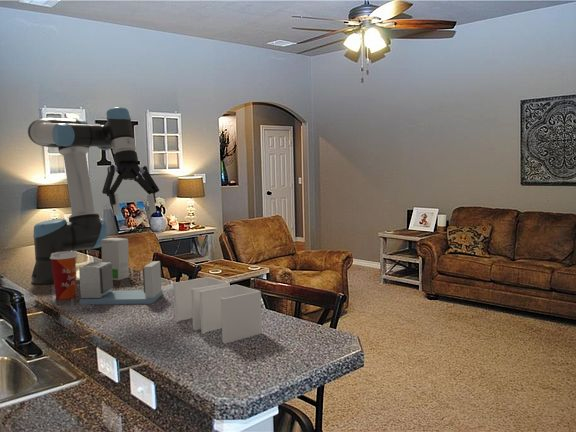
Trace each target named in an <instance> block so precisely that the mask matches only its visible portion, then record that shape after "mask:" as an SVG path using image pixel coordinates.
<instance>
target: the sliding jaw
mask: <svg viewBox="0 0 576 432" xmlns="http://www.w3.org/2000/svg"><path fill="white" fill-rule="evenodd" d="M78 270H79V287H80V299H82V298H101V297H103V296H105V295H106V294H108V293H109V292H111V291H113V288H114V280H113V276H112V264H111V262H102V261H93V262H89V263H87V264H85V265H82V266H80V267H79V268H78Z"/></svg>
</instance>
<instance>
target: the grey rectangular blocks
mask: <svg viewBox="0 0 576 432" xmlns="http://www.w3.org/2000/svg"><path fill="white" fill-rule="evenodd" d="M172 286H173V304H174V306H173V307H174V322H175V323H179V322H181V321H185V320H189V319H192V330H193V331H199V330H201V331H200V332H201V334H202V335H205V334H206V333H209V331H210V332H213V330H214V331H217V329H218V330H221V333H222V334H221V336H222V337H221V338H222V339H221V340H222V343H224V344H229V343H232V342H236V341H239V340H243V339H246V338H250V337H254V336H258V335H262V334H263V329H262V328H263V323H262V320H263V319H262V293H261V290H257V289H253V288H250V287H247V286H243V285H239V284H236V283H235V284H232V285H230V282H228V281H225V280H222V279H218V278H213V277H211V276H205V277H199V278H194V279H187V280H183V281H182V280H181V281H177V282H172ZM221 328H222V329H221ZM198 329H199V330H198ZM261 333H262V334H261Z"/></svg>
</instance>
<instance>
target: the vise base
mask: <svg viewBox="0 0 576 432" xmlns="http://www.w3.org/2000/svg"><path fill="white" fill-rule="evenodd" d="M161 273H162V270H161V261H160V260H157V261H156V260H155V261H154V260H152V261H151V262H149V263H148V264H146V265H145V266H143V267H142V277H143V289H142V290H141V289H140V290H139V289H138V290H135V289H134V290H112V291H111V292H109V293H108V294H106V295H105V296H103V297H101V298H80V299H79V305H80V306H81V305H83V306H87V305H90V304H93V305H137V304H138V305H142V304H143V305H145V304H146V305H147V304H148V305H149V304H151V305H152V304H153V303H155V302H156V301H157V300H159V298H160V297H161V296H163V295H164V293H163V292H164V291H163V289H162V275H161Z"/></svg>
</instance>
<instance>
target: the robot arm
mask: <svg viewBox="0 0 576 432" xmlns="http://www.w3.org/2000/svg"><path fill="white" fill-rule="evenodd" d="M105 115H106V122H105V124H90V123H88V122H87V120H85V119H80V118H79V119H78V118H60V117H57V118H56V117H42V118H39V119H38V118H37V119H36V120H33V121H32V122H31V123H30V124H29V126H28V128H27V135H28V136H27V137H29V139H30V140H31V142H33V143H34V144H35V145H38V146H40V147H45V148H46V147H47V148H57V149H58V154H60V155H61V156H62V157H63V160H64V168H65V174H66V175H65V177H66V181H67V188H68V195H69V203H70V209H71V214H70V215H69V217H68V220H67V219H65V218H56V219H49V220H44V221H40V222H38V223H35V224H34V225H33V236H32V237H33V242H34V243H33V244H34V258H35V262H34V266H33V270H32V273H31V283H32V284H35V285H51V284H53V285H54V279H53V271H52V263H51V259H50V257H51V254H52V253H55V252H64V251H73V252H75V251H82V250H83V251H84V250H93V249H98V248H102V246H101V245H102V244H101V240H102V239H107V236H108V235H107V233H108V228H107V227H108V226H107V223H106V221H105V220H104V218H101V217H100V213H99V212H97V211H96V210H95V205H94V199H93V194H92V193H93V192H92V186H91V180H90V179H91V178H90V173H89V172H90V171H89V167H88V160H87V154H88V153H89V151H90V148H91V147H94V148H95V147H97V148H98V149H99V150H102V151H108V150H112V153H113V160H114V164H115V165H114V164H111V165H108V167H107V174H106V178H105V180H104V184H103V187H102V191H101V192H102V194H103V195H106V196H107V197H109V205H111V206H112V210H113V214H114V216H118V215H120V214H122V212H121V205H120V202H119V200H120V199H119V195H118V193H116V192H117V190H118V189H119V187H120V185H121V184H122V182H123V181H124V180H125V181H127V180H129V181H134V182H136V183H137V184H138V185H139V186H140V187H141V188H142V189H143V190H144V191H145V192H146V193H147V195H146V199H147V203H148V204H147V205H148V209H149V214H151V215H153V214H155V213H156V212H157V208H156V203H157V197H156V194H157V193H158V192H160V188H159V186H158V185H157V184H156V182H155V180H154V178H153V177H152V175H151V174H150V172H149V170H148V167H147V165H144V166H142V167H140V166H139V159H138V153H137V148H136V143H135V138H134V131H133V126H132V118H131V117H130V111H129V110H128V108H126V107H122V106H118V107H112V108H109V109H107V111H106V112H105ZM115 173H117V174H118V176H117V177H116V178H115V181H114V183H113V180H114V177H115Z"/></svg>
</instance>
